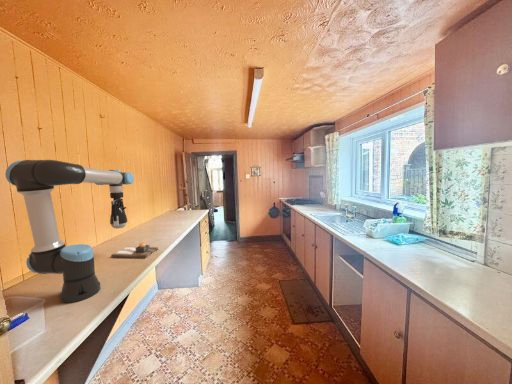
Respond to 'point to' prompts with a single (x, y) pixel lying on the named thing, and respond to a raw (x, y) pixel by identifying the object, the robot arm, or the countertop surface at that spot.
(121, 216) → the pump dispenser
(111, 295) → the countertop surface
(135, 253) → the drawing board
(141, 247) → the button
